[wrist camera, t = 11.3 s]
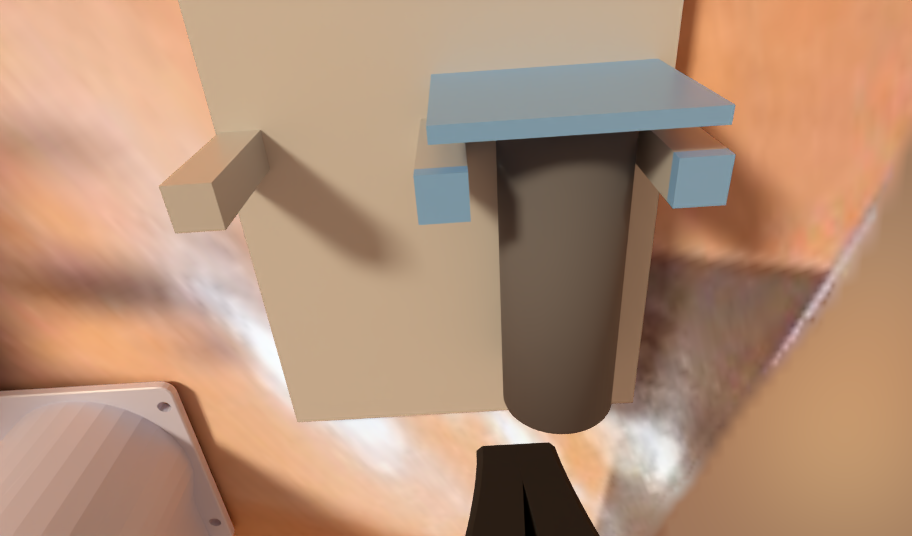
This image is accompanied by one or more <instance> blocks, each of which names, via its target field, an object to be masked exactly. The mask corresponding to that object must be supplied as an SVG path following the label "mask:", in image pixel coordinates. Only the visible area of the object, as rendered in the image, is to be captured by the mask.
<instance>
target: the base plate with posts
mask: <svg viewBox="0 0 912 536" xmlns="http://www.w3.org/2000/svg"><path fill="white" fill-rule="evenodd" d="M178 2H179V6H180V9H181V13H182V16H183V20H184V23H185V27H186V30H187V34H188V37H189V41H190V45H191V48H192V52H193V55H194V59H195V62H196V66H197V69H198V73H199V76H200V80H201V83H202V87H203V90H204V94H205V97H206V101H207V105H208V108H209V112H210V115H211V119H212V122H213V126H214V129H215V133H216V136H215V137H213V138H212V139H211V140H210V141H209V142H208V143H207V144H206V145H204V146H203V147H202V148H201V149H200V150H199V151H198V152H197V153H196V154H194V155H193V156H192V157H191V158H190V159H189V160H188V161H187V162H185V163H184V164H183V165H182V166H181V167H180V168H179V169H178V170H176V171H175V172H174V173H173V174H172V175H171V176H170V177H169V178H167V179H166V180H165V181H164V182H163V183H162V184H161V185H160V186H159V188H160V191H161V194H162V197H163V200H164V202H165V205H166V208H167V211H168V214H169V217H170V220H171V222H172V225H173V228H174V231H175V233H190V232H205V231H220V230H226V229H227V227H228V226H229V225H230V223H231V222H232V221H233V219H234V218H235V217H236V215H237V214H239V217H240V221H241V225H242V228H243V232H244V235H245V239H246V242H247V246H248V249H249V253H250V256H251V260H252V263H253V267H254V270H255V274H256V277H257V281H258V285H259V288H260V292H261V295H262V299H263V302H264V306H265V309H266V313H267V316H268V320H269V323H270V327H271V330H272V334H273V337H274V341H275V345H276V348H277V352H278V355H279V359H280V362H281V366H282V369H283V373H284V376H285V380H286V383H287V387H288V390H289V394H290V397H291V401H292V404H293V408H294V412H295V415H296V419H297V422H311V421H328V420H345V419H361V418H378V417H395V416H412V415H429V414H446V413H463V412H480V411H497V410H508V408H507V406H506V404H505V402H504V398H503V370H502V336H501V301H500V267H499V233H498V198H497V164H496V140H510V139H525V138H540V137H555V136H570V135H584V134H599V133H614V132H629V131H639V134H638V143H637V153H636V163H635V173H634V183H633V193H632V203H631V213H630V223H629V233H628V243H627V253H626V263H625V273H624V283H623V292H622V302H621V312H620V322H619V332H618V342H617V352H616V362H615V372H614V382H613V392H612V402H611V404H616V403H633V397H634V389H635V381H636V373H637V365H638V357H639V349H640V342H641V334H642V326H643V318H644V310H645V302H646V294H647V286H648V279H649V271H650V263H651V255H652V247H653V239H654V231H655V223H656V215H657V208H658V200H659V192H660V194H661V195H662V196H663V197H664V199H665V200H666V201H667V202H668V203H669V205H670V206H671V207H672V208H673V209H674V208H690V207H705V206H720V205H726V202H727V197H728V191H729V186H730V181H731V176H732V171H733V166H734V160H735V155H736V154H734V153H733V152H732V151H731V150H729V149H728V148H727V147H725V146H724V145H723V144H721V143H720V142H719V141H718V140H716V139H715V138H714V137H712V136H711V135H710V134H708V133H707V132H706V131H704V130H703V129H702V128H701V127H703V126H718V125H732V121H733V115H734V110H735V104H733V103H732V102H730V101H728V100H727V99H725V98H723V97H721V96H720V95H718V94H716V93H715V92H713V91H711V90H710V89H708V88H706V87H705V86H703V85H701V84H700V83H698V82H696V81H695V80H693V79H691V78H690V77H688V76H686V75H685V74H683V73H681V72H680V71H678V70H676V69H675V66H676V58H677V50H678V42H679V34H680V26H681V18H682V10H683V3H684V0H178Z"/></svg>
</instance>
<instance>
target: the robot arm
mask: <svg viewBox="0 0 912 536" xmlns="http://www.w3.org/2000/svg"><path fill="white" fill-rule="evenodd" d="M164 402H165V403H168V404H169V405H167V404H165V403H164ZM234 532H235V530H234V527H233V524H232V522H231V520H230V517H229V515H228V512H227V510H226V508H225V505H224V503H223V500H222V498H221V495H220V493H219V491H218V488H217V486H216V483H215V481H214V479H213V476H212V474H211V471H210V469H209V467H208V464H207V462H206V459H205V457H204V455H203V452H202V450H201V447H200V445H199V443H198V440H197V438H196V435H195V433H194V431H193V428H192V426H191V423H190V421H189V419H188V416H187V414H186V411H185V409H184V407H183V404H182V402H181V399H180V397H179V395H178V392H177V390H176V389H175V387H174V386H173V385H171V384H170V383H167V382H161V381H158V382H141V383H125V384H108V385H92V386H75V387H59V388H42V389H26V390H9V391H0V536H233V534H234ZM465 536H599V534H598V532H597V531H596V529H595V527H594V526H593V524H592V522H591V520H590V518H589V517H588V515H587V513H586V511H585V510H584V508H583V506H582V504H581V502H580V500H579V498H578V496H577V494H576V493H575V491H574V489H573V487H572V485H571V483H570V481H569V479H568V477H567V475H566V472H565V470H564V468H563V466H562V464H561V461H560V459H559V457H558V454H557V452H556V449H555V447H554V446H553V445H552V444H550V443H531V444H513V445H494V446H482V447H481V448H480V449H478V450H477V468H476V480H475V489H474V495H473V501H472V507H471V512H470V518H469V522H468V527H467V531H466V535H465Z"/></svg>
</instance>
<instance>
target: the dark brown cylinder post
mask: <svg viewBox="0 0 912 536" xmlns="http://www.w3.org/2000/svg"><path fill="white" fill-rule="evenodd" d="M638 134H639V131H629V132H614V133H599V134H584V135H570V136H555V137H540V138H525V139H510V140H496V164H497V198H498V233H499V267H500V301H501V336H502V370H503V398H504V402H505V404H506V406H507V408H508V410H509V411H510V413H511V414H512V415H513V416H514V417H515V418H516V419H517V420H519V421H520V422H522V423H523V424H525V425H527V426H529V427H531V428H533V429H536V430H539V431H542V432H546V433H552V434H571V433H577V432H581V431H584V430H587V429H589V428H591V427H593V426H595V425H597V424H598V423H600V422H601V421H602V420H603V419H604V418H605V416H606V415H607V414H608V412H609V410H610V407H611V402H612V392H613V382H614V372H615V362H616V352H617V342H618V332H619V322H620V312H621V302H622V292H623V283H624V273H625V263H626V253H627V243H628V233H629V223H630V213H631V203H632V193H633V183H634V173H635V163H636V153H637V143H638Z"/></svg>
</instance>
